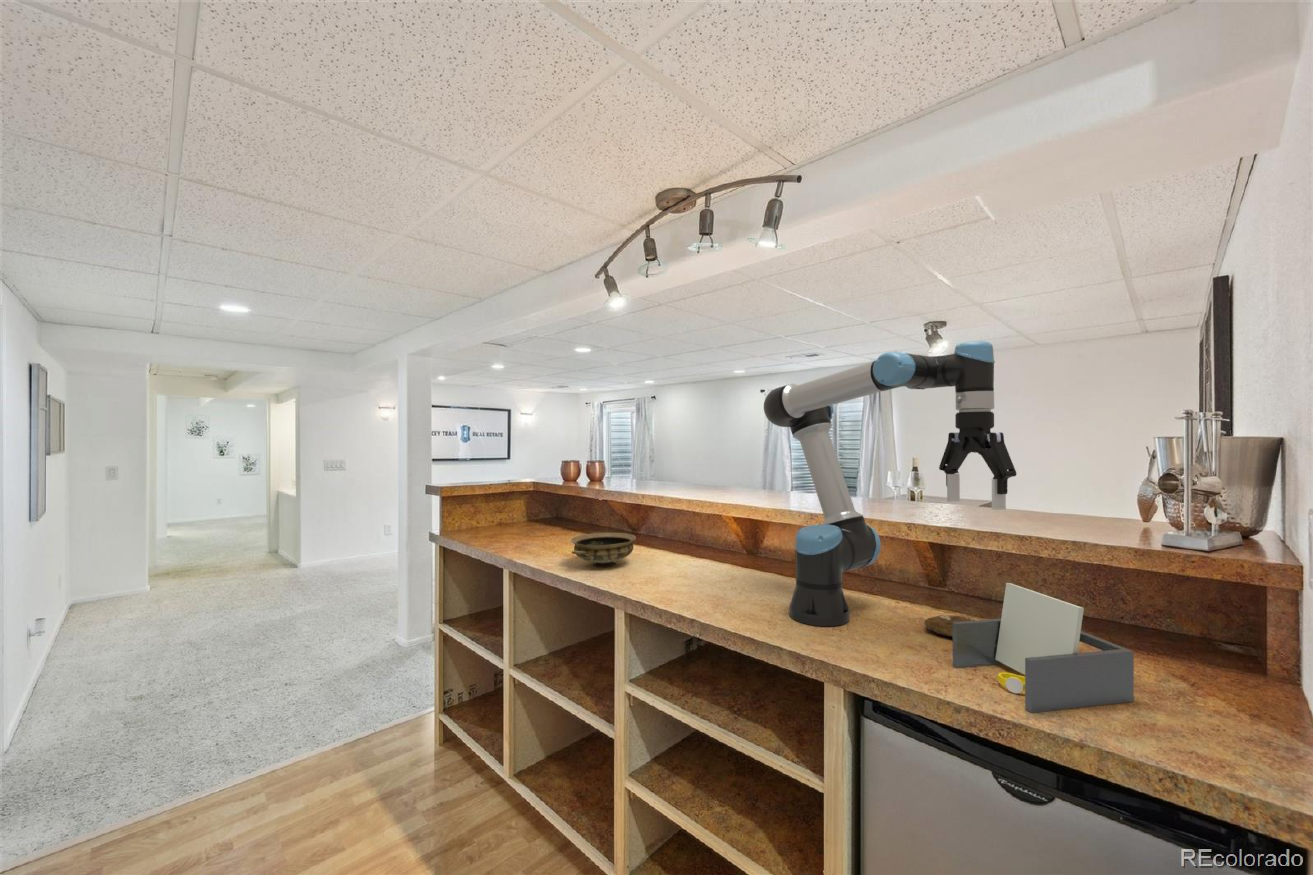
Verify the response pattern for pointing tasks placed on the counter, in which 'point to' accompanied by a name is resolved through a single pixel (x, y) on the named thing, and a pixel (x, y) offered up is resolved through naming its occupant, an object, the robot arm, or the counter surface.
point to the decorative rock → (944, 624)
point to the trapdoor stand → (1054, 669)
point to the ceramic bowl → (603, 547)
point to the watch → (1012, 682)
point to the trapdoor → (1036, 627)
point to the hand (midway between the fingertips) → (974, 505)
